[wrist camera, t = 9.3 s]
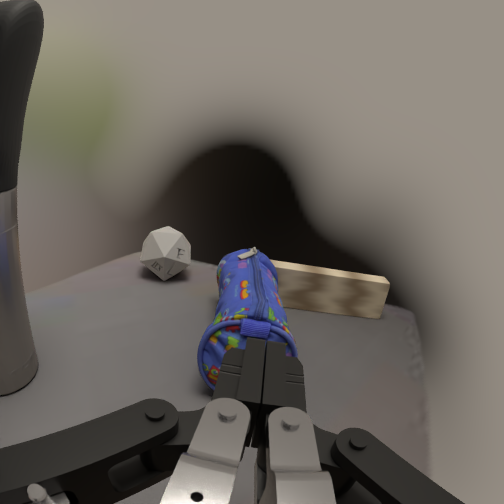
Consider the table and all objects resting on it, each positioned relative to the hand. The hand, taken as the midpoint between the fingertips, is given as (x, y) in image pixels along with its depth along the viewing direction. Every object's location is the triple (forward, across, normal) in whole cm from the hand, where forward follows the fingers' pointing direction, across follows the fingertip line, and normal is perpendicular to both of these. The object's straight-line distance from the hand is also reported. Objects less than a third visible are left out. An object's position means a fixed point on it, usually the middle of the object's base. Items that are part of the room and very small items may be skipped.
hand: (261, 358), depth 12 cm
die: (+38, +16, +15) cm, 43 cm away
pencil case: (+21, +1, +14) cm, 26 cm away
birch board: (+34, -7, +14) cm, 37 cm away
